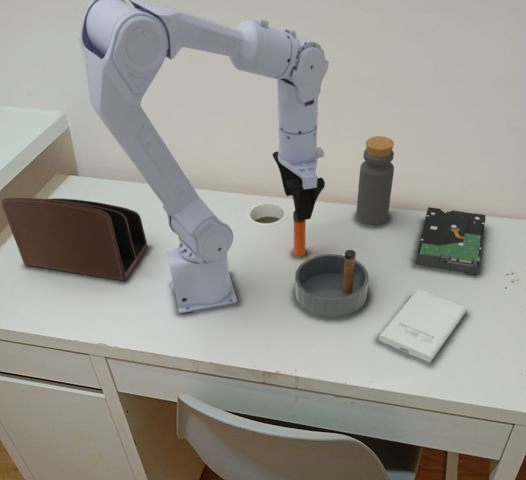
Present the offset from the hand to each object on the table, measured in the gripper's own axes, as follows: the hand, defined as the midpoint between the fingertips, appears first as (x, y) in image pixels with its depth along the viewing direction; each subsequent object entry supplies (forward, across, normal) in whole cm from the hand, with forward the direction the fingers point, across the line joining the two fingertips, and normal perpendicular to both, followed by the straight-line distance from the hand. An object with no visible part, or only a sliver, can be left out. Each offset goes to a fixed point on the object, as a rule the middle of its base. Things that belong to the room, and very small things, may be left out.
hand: (297, 206), depth 95 cm
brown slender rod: (+9, -12, -5) cm, 16 cm away
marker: (+10, 0, 0) cm, 10 cm away
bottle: (+10, +7, -16) cm, 20 cm away
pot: (+10, -12, -2) cm, 16 cm away
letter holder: (+10, +9, +37) cm, 39 cm away
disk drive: (+10, -5, -26) cm, 28 cm away
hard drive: (+10, -23, -13) cm, 29 cm away
